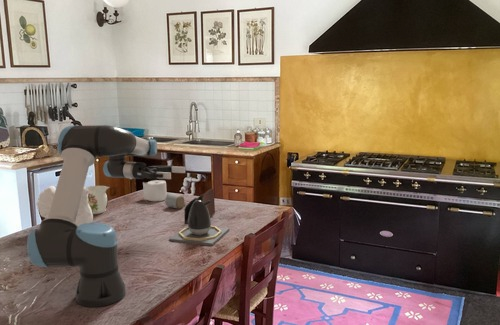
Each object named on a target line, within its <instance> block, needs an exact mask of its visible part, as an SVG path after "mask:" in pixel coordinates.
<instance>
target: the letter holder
mask: <svg viewBox="0 0 500 325" xmlns="http://www.w3.org/2000/svg"><path fill="white" fill-rule="evenodd" d="M196 200H201V201H203V202H204V203H205V202H207V201H210V203H209V204H208V205H206V207H207V209H208V211H209V215H210V218H212V217H213V215H215V213H216V209H215V208H216V207H215V206H216V205H215V204H216V203H215V190H214V188H210V189H208V190H206V192H205V193H202V194H201V195H199V196H198V197H195V198H193V199H191V200H190V201H189V202H188V203H186V205H185V207H184V211H183V212H184V213H183V214H184V225H186V224H187V225H188V217H189V212H190V209H191V206H192V204H193V203H194V202H195V201H196Z"/></svg>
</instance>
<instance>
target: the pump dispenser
mask: <svg viewBox="0 0 500 325" xmlns="http://www.w3.org/2000/svg"><path fill="white" fill-rule="evenodd" d="M209 203H210V201H207V202H205V203H204V202H203V201H201V200H196V201H195V202H194V203H193V204H192V206H191V209H190V212H189V217H188V224H187V226H188V227H189V230H190V232H191V233H192V234H194V235H204V234H206V233H207V232H208V231H209V229H210V226H212V220H211V217H210V215H209V211H208V209H207V207H206V205H208V204H209Z"/></svg>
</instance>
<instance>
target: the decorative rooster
mask: <svg viewBox="0 0 500 325" xmlns="http://www.w3.org/2000/svg"><path fill="white" fill-rule="evenodd" d="M85 188H86V187H85V186H84V189H83V193H82V197H81V201H80V205H79V209H78V213H77V217H76V221H75V223H76V225H77V226H79V225H81V224H85V223H93V220H94V214H92V210H91V208H90V206H89V203H88V194H87V193H88V191H89V190H87V189H85ZM55 190H56V187H55V186H54V185H50V186H48V187H46V188H45V189H44V190H43V191H42V192H40V194H39V195H38V201H36V206H37V209H38V211H39V214H40V216H41V217H42V218H44V219H46V218H48V215H49V211H50V208H51V204H52V201H53V197H54V194H55Z"/></svg>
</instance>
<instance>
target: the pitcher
mask: <svg viewBox="0 0 500 325" xmlns="http://www.w3.org/2000/svg"><path fill="white" fill-rule="evenodd" d="M109 188H110V186H106V185H90V186H87V187H85V189H87V190H89V191H88V193H87V194H88V203H89V206H90V208H91V210H92V214H93V215H100V214H104V212H105V210H106V207H107V204H108V196H107V193H106V192H107V190H108V189H109Z"/></svg>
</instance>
